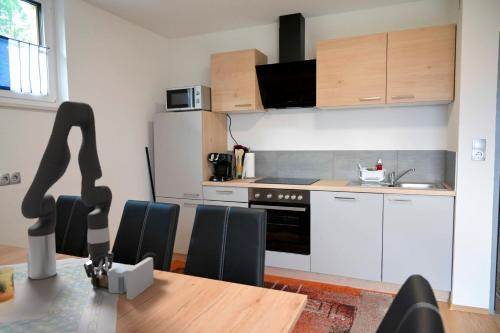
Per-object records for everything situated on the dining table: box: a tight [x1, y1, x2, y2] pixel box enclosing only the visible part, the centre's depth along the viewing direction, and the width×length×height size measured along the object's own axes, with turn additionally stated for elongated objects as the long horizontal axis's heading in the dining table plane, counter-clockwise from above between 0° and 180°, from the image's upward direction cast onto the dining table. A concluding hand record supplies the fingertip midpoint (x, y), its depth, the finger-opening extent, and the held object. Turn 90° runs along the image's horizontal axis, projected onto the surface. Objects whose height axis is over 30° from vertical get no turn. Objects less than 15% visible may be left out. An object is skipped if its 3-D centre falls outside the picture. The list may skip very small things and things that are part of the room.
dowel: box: [90, 273, 109, 288], centre depth 125 cm, size 11×4×4 cm, turn 75°
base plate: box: [126, 257, 155, 301], centre depth 121 cm, size 2×14×10 cm, turn 166°
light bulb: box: [141, 252, 158, 271], centre depth 134 cm, size 6×6×10 cm
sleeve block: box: [108, 264, 136, 295], centre depth 123 cm, size 6×8×8 cm
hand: (100, 284), depth 126 cm, fingers closed on dowel, 4 cm apart
